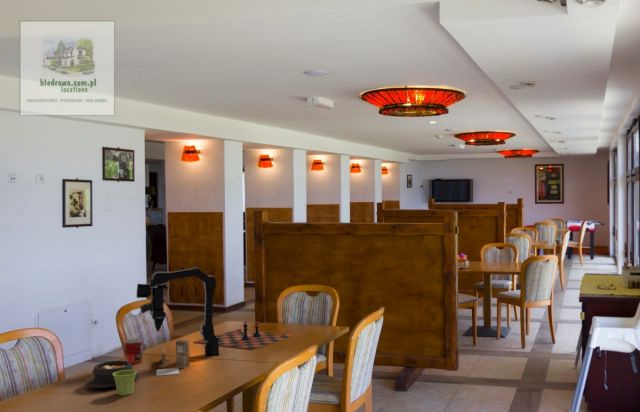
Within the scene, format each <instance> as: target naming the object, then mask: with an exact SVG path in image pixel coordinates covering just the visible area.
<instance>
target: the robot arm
mask: <svg viewBox="0 0 640 412" xmlns="http://www.w3.org/2000/svg"><path fill="white" fill-rule="evenodd" d="M190 277H197V278H198V279H200V280H201V282H202V284H203V290H204V321H203V323H202V324H200V331H199V332H200V334H201V337H202V339H205V340H206V341H207V342H206V344H204V354H205V356H206V357H210V356H220V350H219V349H220V346H219V339H218V337H217V336H216V334H215V329H214V323H213V314H214V313H213V311H214V293H215V291H216V287H217V280H216V278H215V277H214V276H212V275H211V274H210V275H209V274H206V273H205V272H203V271H202V269H200V268H198V267H197V266H196V267H191V268H188V269H187V268H186V269H180V270H175V271H174V270H173V271H155V272H154V273H153V274H152V277H151V280H150V281H149V282H148V283H137V288H136V298H137V299H143V298H144V299H149V297H150V296H151V299H150V302H148V303H145V304H141V305H140V306H139V308H140V311H141V314H145V313H146V312H149V313H150V315H151V318H152V320H153V322H154V327H155V328H156V329H155V330H156V332H159V331H160V330H161V327H162V326H163V323H164V321H165V319H166V317H167V316H166V315H167V314H166V312H165V290H166V289H169V286H168V285H167V284H166V283H168V282H170V281H173V280H179V279H180V280H181V279H184V278H185V279H186V278H190Z"/></svg>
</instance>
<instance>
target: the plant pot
mask: <svg viewBox="0 0 640 412" xmlns="http://www.w3.org/2000/svg"><path fill="white" fill-rule="evenodd" d="M136 373H138V372H137V370H133V369H132V370H123V371H117V372H114V373H113V376H114V379H115V383H116V387H115V388H116V393H117V395H118V396H120V397H121V396H124V397H125V396H128V395H132V394H134V386H135V380H136V378H135V374H136Z"/></svg>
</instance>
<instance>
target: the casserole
mask: <svg viewBox="0 0 640 412" xmlns="http://www.w3.org/2000/svg"><path fill="white" fill-rule="evenodd" d="M133 369H134V367H133V365H132V364H131V363H130V362H128V361H126V360H110V361H105V362H101V363H97V364H96V365H94V367H93V370H92V371H91V373H92V374H93V376H94V378H93V379H91V380H90V381H88V382H87V383H85V384H84V385H85V387H87V388H91V389H92V388H93V389H104V388H105V389H106V388H116V383H115V379H114V376H113V373H114V372H117V371H123V370H133ZM139 376H140V373H138V372H137V373H136V374H135V379H136V378H138V377H139Z"/></svg>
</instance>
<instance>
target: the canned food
mask: <svg viewBox="0 0 640 412" xmlns="http://www.w3.org/2000/svg"><path fill="white" fill-rule="evenodd" d="M142 341H143V340H142V338H135V337H134V338H128V339H125V341H124V351H125V355H124V356H125V361H128V362H130V363H131V365H138V364H141V363H142V362H143V342H142Z"/></svg>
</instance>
